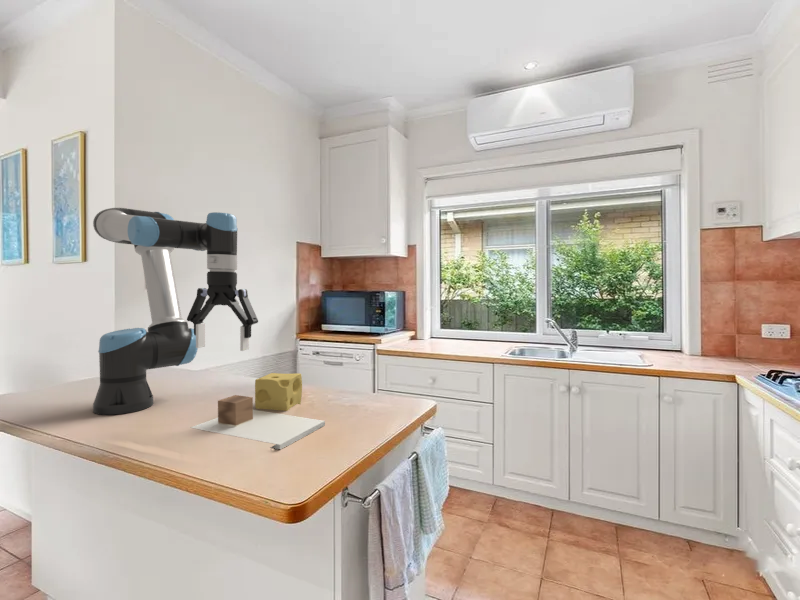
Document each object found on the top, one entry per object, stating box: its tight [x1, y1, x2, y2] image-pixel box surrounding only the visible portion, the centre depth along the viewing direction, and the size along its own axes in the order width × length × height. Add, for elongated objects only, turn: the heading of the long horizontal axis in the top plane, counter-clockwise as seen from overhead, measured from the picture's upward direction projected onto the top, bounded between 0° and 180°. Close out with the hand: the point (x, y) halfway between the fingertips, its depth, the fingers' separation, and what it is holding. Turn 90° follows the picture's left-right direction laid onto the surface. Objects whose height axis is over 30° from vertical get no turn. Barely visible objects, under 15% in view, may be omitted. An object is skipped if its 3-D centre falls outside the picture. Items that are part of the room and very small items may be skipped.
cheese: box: [254, 372, 303, 412], centre depth 125 cm, size 10×11×10 cm
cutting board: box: [190, 409, 326, 450], centre depth 107 cm, size 28×18×1 cm, turn 67°
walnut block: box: [217, 394, 254, 427], centre depth 109 cm, size 6×6×6 cm
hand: (222, 348), depth 114 cm, fingers open, 13 cm apart
